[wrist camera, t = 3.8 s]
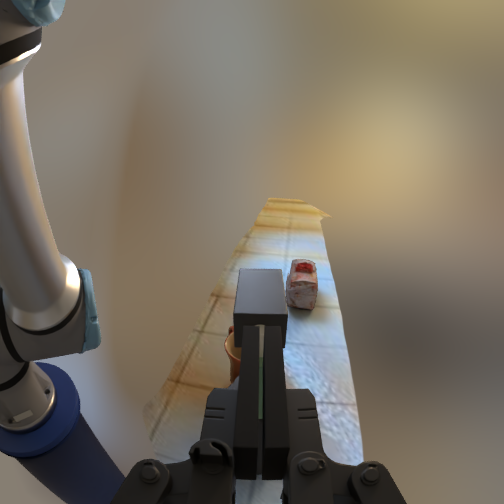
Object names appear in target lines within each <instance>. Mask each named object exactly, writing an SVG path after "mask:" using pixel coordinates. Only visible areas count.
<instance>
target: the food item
mask: <svg viewBox="0 0 504 504" xmlns="http://www.w3.org/2000/svg"><path fill="white" fill-rule="evenodd" d="M317 291H318V281H317V273H316V267H315V263H314V262H312V261H310V260H306V259H296V260H293V261H292V265H291V270H290V274H289V273H288V276H287V281H286V300H287V304H288V306H292V307H295V308H301V309H309V310H313V308H314V305H315V302H316V297H317Z"/></svg>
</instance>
